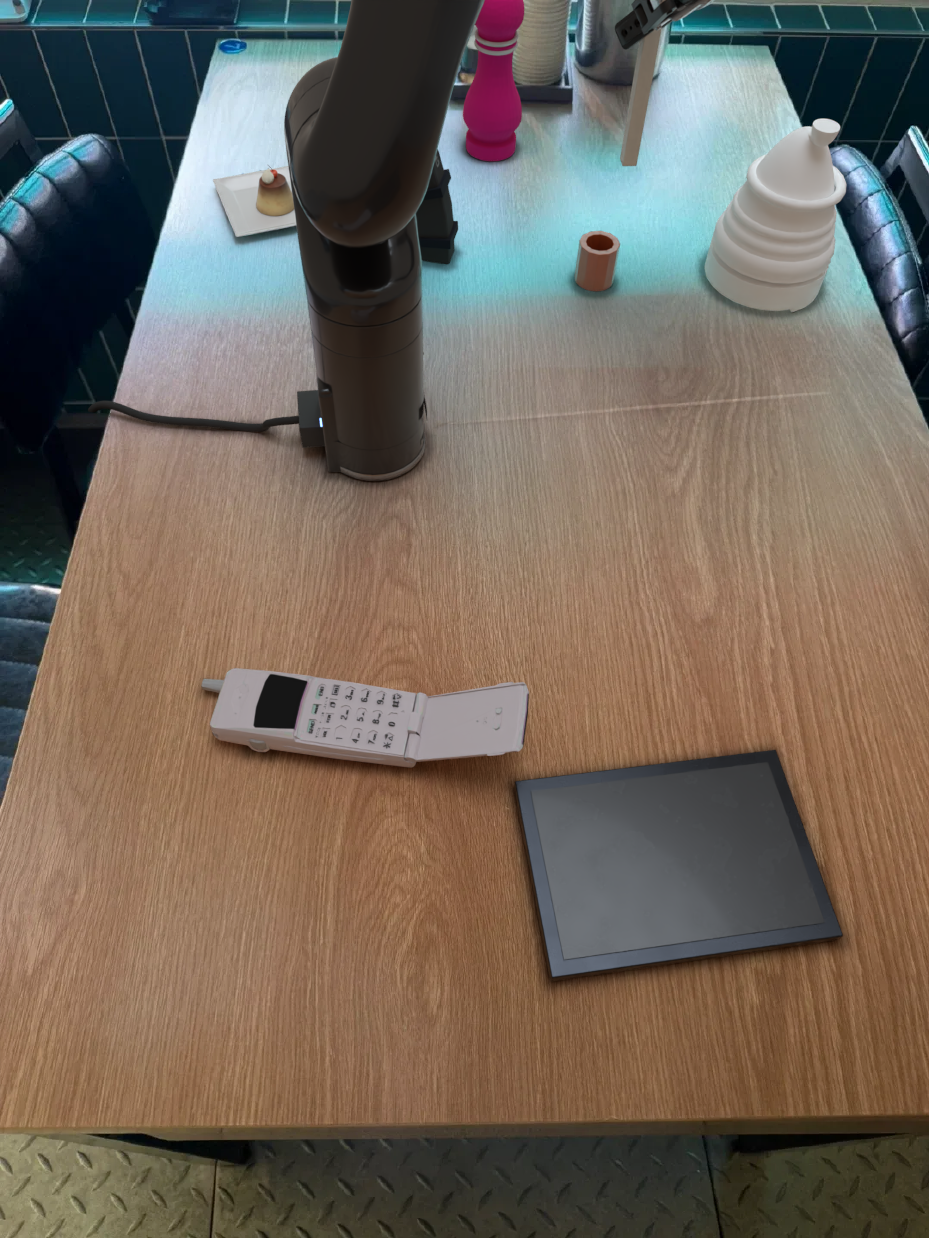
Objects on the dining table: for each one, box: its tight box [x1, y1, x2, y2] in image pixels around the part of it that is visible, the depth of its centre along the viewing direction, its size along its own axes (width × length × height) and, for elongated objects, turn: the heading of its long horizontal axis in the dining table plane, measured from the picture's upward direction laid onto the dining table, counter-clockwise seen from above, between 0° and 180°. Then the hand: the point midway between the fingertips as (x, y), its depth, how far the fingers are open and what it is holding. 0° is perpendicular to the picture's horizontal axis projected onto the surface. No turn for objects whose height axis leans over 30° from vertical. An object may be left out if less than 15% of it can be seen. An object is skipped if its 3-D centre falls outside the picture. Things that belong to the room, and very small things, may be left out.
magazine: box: [416, 148, 459, 265], centre depth 102 cm, size 4×13×15 cm, turn 77°
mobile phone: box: [200, 667, 530, 768], centre depth 70 cm, size 6×6×25 cm
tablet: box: [513, 749, 844, 982], centre depth 67 cm, size 20×14×1 cm
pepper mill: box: [462, 0, 525, 162], centre depth 111 cm, size 7×7×20 cm
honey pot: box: [703, 118, 847, 313], centre depth 98 cm, size 13×13×18 cm
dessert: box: [212, 164, 296, 238], centre depth 109 cm, size 12×12×5 cm
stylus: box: [619, 28, 663, 167], centre depth 85 cm, size 1×1×15 cm
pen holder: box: [573, 230, 621, 292], centre depth 102 cm, size 4×4×5 cm
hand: (630, 33), depth 83 cm, fingers closed on stylus
